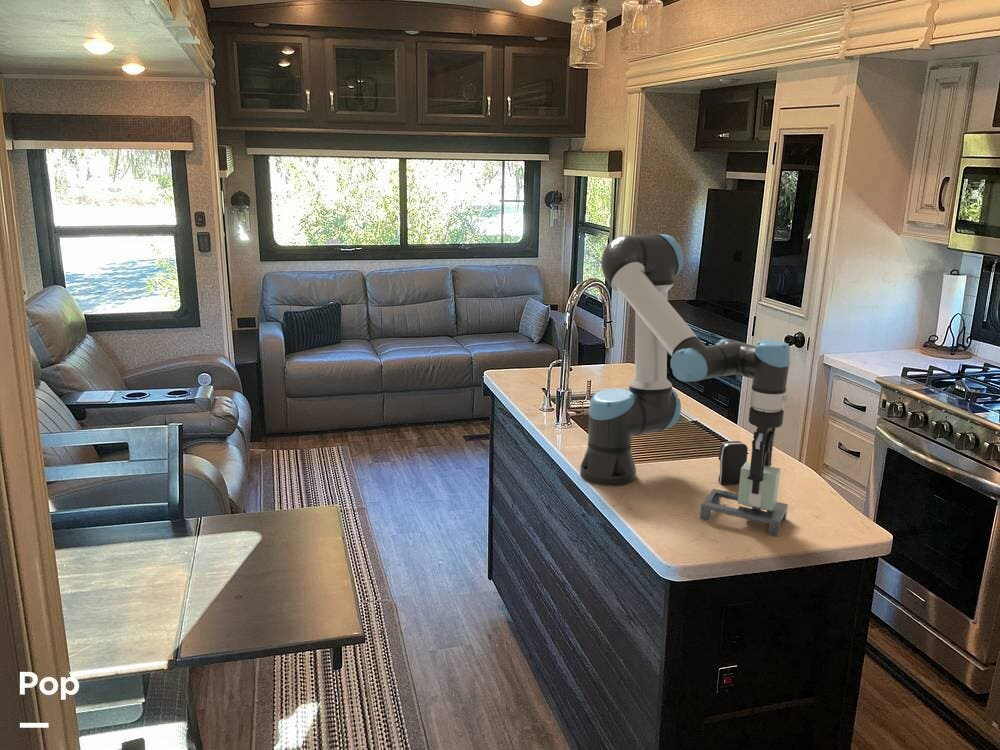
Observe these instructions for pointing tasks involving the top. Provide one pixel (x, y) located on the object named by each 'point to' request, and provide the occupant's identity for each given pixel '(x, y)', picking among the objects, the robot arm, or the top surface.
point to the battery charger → (731, 461)
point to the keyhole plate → (744, 510)
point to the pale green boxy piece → (768, 490)
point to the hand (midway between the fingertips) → (757, 500)
